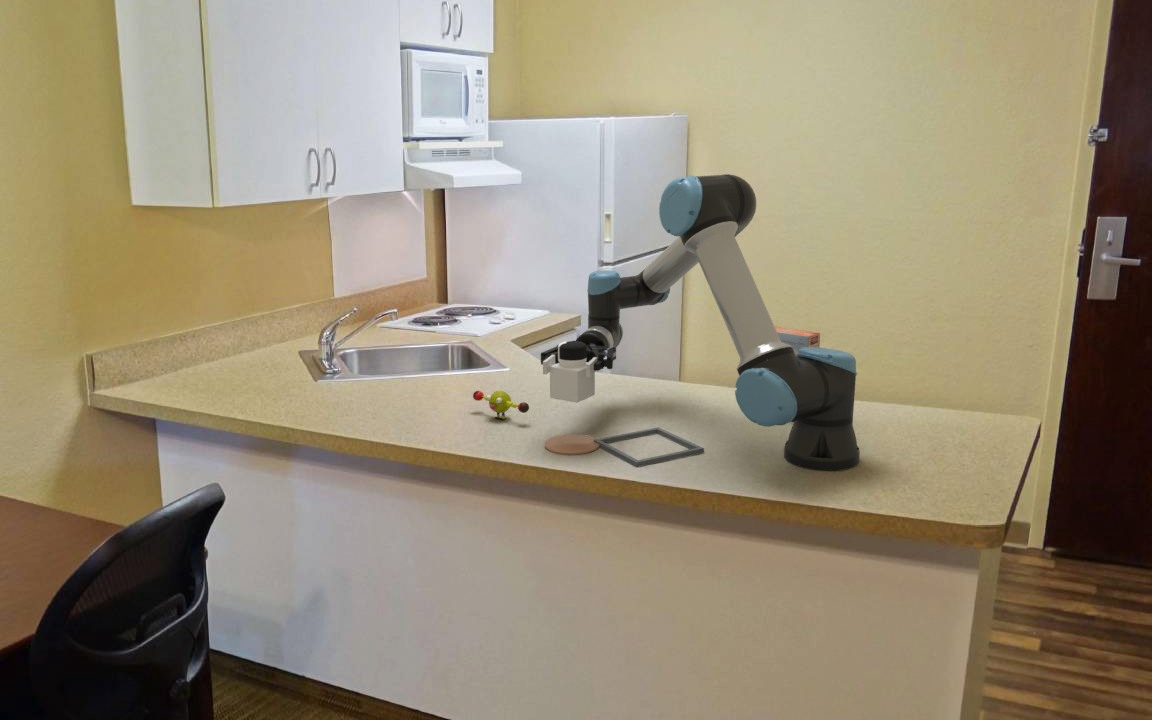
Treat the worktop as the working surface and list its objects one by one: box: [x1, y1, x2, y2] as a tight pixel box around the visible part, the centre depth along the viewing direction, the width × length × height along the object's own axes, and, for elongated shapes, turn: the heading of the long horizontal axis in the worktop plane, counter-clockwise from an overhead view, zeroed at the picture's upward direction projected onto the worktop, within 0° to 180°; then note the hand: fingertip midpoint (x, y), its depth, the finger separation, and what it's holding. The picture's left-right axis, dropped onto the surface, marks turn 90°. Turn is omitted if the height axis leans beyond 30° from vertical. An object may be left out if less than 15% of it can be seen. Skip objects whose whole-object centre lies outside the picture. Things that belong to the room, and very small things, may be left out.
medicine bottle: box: [549, 340, 596, 403], centre depth 204 cm, size 7×7×12 cm
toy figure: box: [472, 390, 530, 421], centre depth 227 cm, size 18×6×7 cm, turn 48°
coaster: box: [544, 433, 600, 456], centre depth 208 cm, size 12×12×1 cm
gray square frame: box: [594, 427, 705, 468], centre depth 206 cm, size 17×17×1 cm
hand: (566, 369), depth 200 cm, fingers closed on medicine bottle, 9 cm apart
